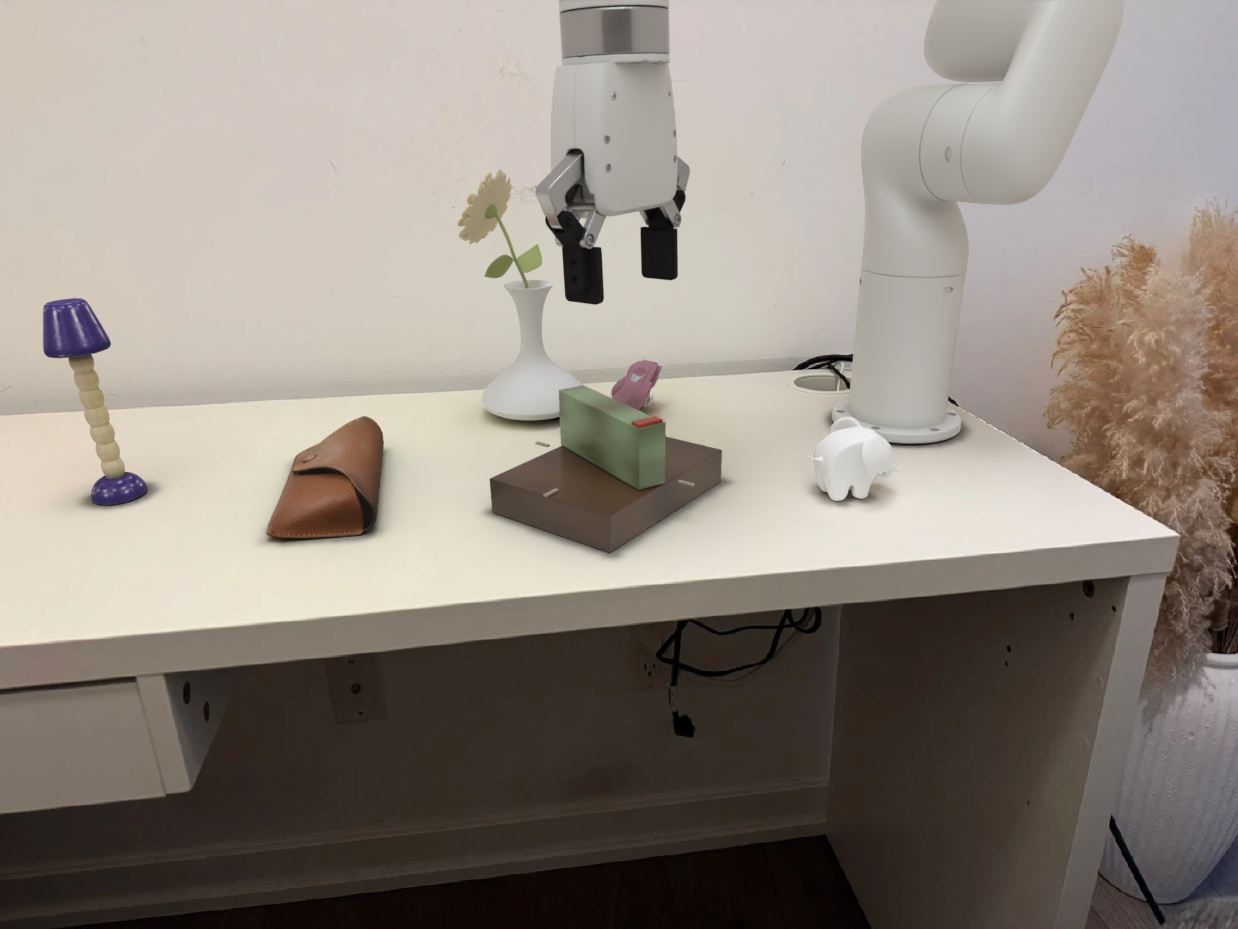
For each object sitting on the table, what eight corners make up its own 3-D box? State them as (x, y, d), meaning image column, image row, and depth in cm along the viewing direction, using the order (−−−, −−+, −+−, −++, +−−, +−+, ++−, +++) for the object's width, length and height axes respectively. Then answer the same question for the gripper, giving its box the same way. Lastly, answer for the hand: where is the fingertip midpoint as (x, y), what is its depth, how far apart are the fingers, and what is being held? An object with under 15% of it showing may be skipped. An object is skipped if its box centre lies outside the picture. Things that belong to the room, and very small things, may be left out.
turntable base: (594, 447, 82) (593, 416, 81) (743, 486, 73) (744, 452, 72) (472, 506, 70) (469, 471, 69) (632, 561, 61) (632, 522, 60)
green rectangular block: (560, 444, 74) (558, 387, 72) (585, 439, 75) (583, 382, 73) (639, 490, 65) (638, 425, 63) (665, 483, 66) (666, 419, 64)
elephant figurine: (913, 505, 69) (922, 436, 67) (821, 515, 67) (827, 444, 65) (873, 473, 75) (881, 409, 73) (788, 482, 74) (793, 416, 71)
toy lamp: (76, 508, 70) (19, 308, 64) (96, 486, 75) (45, 296, 68) (139, 502, 71) (89, 304, 65) (155, 481, 76) (110, 293, 69)
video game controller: (628, 444, 87) (659, 387, 84) (589, 423, 87) (618, 365, 84) (645, 413, 96) (673, 360, 93) (609, 394, 96) (636, 341, 93)
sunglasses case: (290, 453, 80) (320, 392, 78) (362, 482, 82) (392, 423, 81) (262, 539, 64) (298, 464, 62) (352, 572, 66) (389, 500, 65)
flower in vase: (540, 390, 99) (529, 163, 90) (610, 411, 92) (605, 166, 82) (448, 417, 91) (424, 169, 81) (516, 443, 83) (499, 173, 74)
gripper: (642, 48, 67) (648, 267, 74) (487, 43, 55) (511, 307, 61) (725, 41, 63) (723, 274, 70) (578, 34, 50) (593, 318, 57)
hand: (624, 289), depth 66 cm, fingers open, 9 cm apart
